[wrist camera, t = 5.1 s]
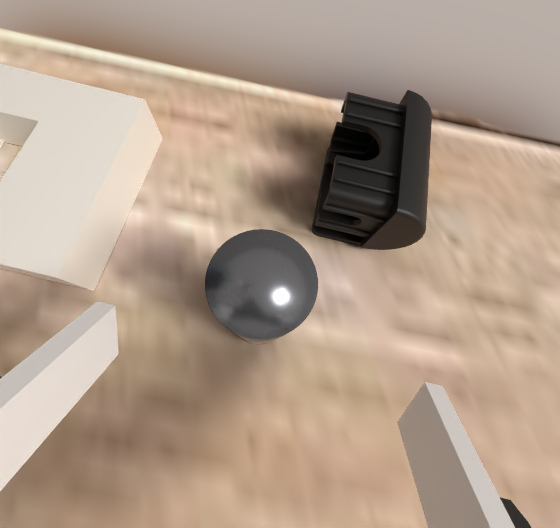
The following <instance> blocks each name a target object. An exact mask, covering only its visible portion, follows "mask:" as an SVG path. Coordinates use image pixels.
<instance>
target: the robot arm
mask: <svg viewBox="0 0 560 528" xmlns="http://www.w3.org/2000/svg"><path fill="white" fill-rule="evenodd" d="M118 354H119V352H118V337H117V322H116V308H115V306H114V305H110V304H106V303H102V302H98V301H97V302H96V303H94V304H93V305H92V306H91V307H89V308H88V309H87V310H86V311H84V312H83V313H82V314H81V315H79V316H78V317H77V318H76V319H74V320H73V321H72V322H71V323H69V324H68V325H67V326H66V327H64V328H63V329H62V330H61V331H59V332H58V333H57V334H56V335H54V336H53V337H52V338H51V339H49V340H48V341H47V342H46V343H44V344H43V345H42V346H41V347H39V348H38V349H37V350H36V351H34V352H33V353H32V354H31V355H29V356H28V357H27V358H26V359H24V360H23V361H22V362H21V363H19V364H18V365H17V366H16V367H14V368H13V369H12V370H11V371H9V372H8V373H7V374H6V375H4V376H3V377H0V491H1V490H2V489H3V488H4V487H5V485H6V484H7V483H8V482H9V481H10V480H11V478H12V477H13V476H14V475H15V474H16V473H17V471H18V470H19V469H20V468H21V467H22V466H23V464H24V463H25V462H26V461H27V460H28V459H29V457H30V456H31V455H32V454H33V453H34V452H35V451H36V449H37V448H38V447H39V446H40V445H41V444H42V442H43V441H44V440H45V439H46V438H47V437H48V435H49V434H50V433H51V432H52V431H53V430H54V428H55V427H56V426H57V425H58V424H59V423H60V421H61V420H62V419H63V418H64V417H65V416H66V415H67V413H68V412H69V411H70V410H71V409H72V408H73V406H74V405H75V404H76V403H77V402H78V401H79V399H80V398H81V397H82V396H83V395H84V394H85V392H86V391H87V390H88V389H89V388H90V387H91V385H92V384H93V383H94V382H95V381H96V380H97V378H98V377H99V376H100V375H101V374H102V373H103V372H104V370H105V369H106V368H107V367H108V366H109V365H110V363H111V362H112V361H113V360H114V359H115V358H116V356H117V355H118ZM397 423H398V426H399V429H400V433H401V436H402V440H403V443H404V446H405V450H406V453H407V457H408V460H409V463H410V467H411V470H412V474H413V477H414V481H415V484H416V487H417V491H418V494H419V498H420V501H421V504H422V508H423V511H424V515H425V518H426V521H427V525H428V528H531V526H530V525H529V523H528V522H527V520H526V519H525V518H524V517H523V515H522V514H521V513H520V511H519V510H518V509H517V508H516V506H515V505H514V504H513V503H512V501H511V500H508V499H504V498H500V497H499V495H498V493H497V491H496V489H495V487H494V485H493V483H492V482H491V480H490V478H489V476H488V474H487V472H486V470H485V468H484V466H483V464H482V462H481V460H480V458H479V456H478V454H477V452H476V450H475V448H474V446H473V444H472V442H471V441H470V439H469V437H468V435H467V433H466V431H465V429H464V427H463V425H462V423H461V421H460V419H459V417H458V415H457V413H456V411H455V409H454V407H453V405H452V403H451V401H450V400H449V398H448V396H447V394H446V392H445V390H444V388H443V386H440V385H436V384H432V383H428V382H424V384H423V385H422V387H421V388H420V390H419V391H418V393H417V394H416V395H415V397H414V398H413V400H412V401H411V403H410V404H409V406H408V407H407V409H406V410H405V412H404V413H403V415H402V416H401V418H400V419H399V420H398V422H397Z"/></svg>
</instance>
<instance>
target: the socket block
mask: <svg viewBox="0 0 560 528" xmlns="http://www.w3.org/2000/svg"><path fill="white" fill-rule="evenodd" d="M161 141H162V136H161V134H160V132H159V130H158V128H157V125H156V123H155V121H154V119H153V116H152V114H151V112H150V110H149V107H148V105H147V103H146V101H145V99H141V98H137V97H133V96H129V95H125V94H121V93H117V92H113V91H109V90H105V89H101V88H97V87H93V86H89V85H85V84H81V83H77V82H73V81H68V80H64V79H60V78H56V77H52V76H48V75H44V74H40V73H36V72H32V71H28V70H24V69H20V68H16V67H12V66H8V65H4V64H0V148H1V146H2V145H3V143H4V142H6V143H10V144H14V145H18V146H22V148H21V150H20V151H19V153H18V154H17V156H16V157H15V159H14V161H13V162H12V164H11V165H10V167H9V168H8V170H7V172H6V173H5V175H4V176H3V178H2V179H1V181H0V269H3V270H8V271H12V272H16V273H20V274H24V275H29V276H33V277H37V278H41V279H45V280H50V281H54V282H58V283H62V284H66V285H71V286H75V287H79V288H83V289H87V290H91V291H95V289H96V286H97V284H98V282H99V280H100V277H101V275H102V273H103V271H104V268H105V266H106V264H107V262H108V260H109V257H110V255H111V253H112V251H113V248H114V246H115V244H116V242H117V239H118V237H119V235H120V233H121V231H122V228H123V226H124V224H125V222H126V219H127V217H128V215H129V213H130V211H131V208H132V206H133V204H134V202H135V199H136V197H137V195H138V193H139V190H140V188H141V186H142V184H143V182H144V179H145V177H146V175H147V173H148V170H149V168H150V166H151V164H152V161H153V159H154V157H155V155H156V153H157V150H158V148H159V146H160V144H161Z"/></svg>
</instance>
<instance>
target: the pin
mask: <svg viewBox="0 0 560 528" xmlns="http://www.w3.org/2000/svg"><path fill="white" fill-rule="evenodd" d="M205 291H206V297H207V300H208V303H209V306H210V308H211V310H212V312H213V313H214V315H215V316H216V318H217V319H218V320H219V321H220V322H221V323H222V324H223V325H224V326H225V327H226V328H228V329H229V330H231V331H232V332H233V333H235V334H236V335H238V336H239V337H240V338H242V339H243V340H245V341H247V342H249V343H252V344H266V343H269V342H271V341H273V340H275V339H277V338H279V337H281V336H283V335H285V334H287V333H289V332H290V331H292V330H294V329H295V328H296V327H298V326H299V325H300V324H301V323H302V322H303V321H304V320H305V319H306V317H307V316H308V315H309V313H310V312H311V310H312V308H313V306H314V303H315V300H316V297H317V291H318V278H317V272H316V269H315V265H314V263H313V261H312V259H311V257H310V256H309V254H308V253H307V251H306V250H305V249H304V248H303V247H302V246H301V245H300V244H299V243H298V242H297V241H295V240H294V239H292V238H291V237H289V236H287V235H285V234H283V233H280V232H277V231H272V230H263V229H260V230H251V231H246V232H243V233H240V234H238V235H236V236H234V237H232V238H231V239H229V240H228V241H226V242H225V243H224V244H223V245H222V246H221V247H220V248H219V249H218V250H217V251H216V253H215V254H214V255H213V257H212V259H211V261H210V263H209V266H208V268H207V272H206V278H205Z"/></svg>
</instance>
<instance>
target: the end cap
mask: <svg viewBox="0 0 560 528" xmlns="http://www.w3.org/2000/svg"><path fill="white" fill-rule="evenodd" d="M341 113H343V118H342V123H340V122H337V123H336V126H335V129H334V132H333V135H332V138H331V142H330V146H329V148H328V151H327V155H326V160H325V165H324V170H323V175H322V180H321V185H320V190H319V195H318V200H317V205H316V210H315V215H314V221H313V226H312V231H313V233H314V234H315V235H317V236H320V237H325V238H329V239H333V240H337V241H342V242H346V243H350V244H354V245H360V247H362V248H367V249H377V250H387V249H397V248H402V247H406V246H409V245H412V244H413V243H415V242H417V241H418V240H420V239H421V238H422V237H423V235H424V233H425V230H426V215H427V196H428V178H429V159H430V140H431V121H432V114H431V109H430V106H429V105H428V103H427V101H426V100H425V99H424V98H423V97H422V96H420V95H419V94H417V93H415V92H412V91H409V90H408V91H407V92H406V94H405V96H404V97H403V99H402V100H401V102H400V104H395V103H391V102H387V101H382V100H379V99H375V98H370V97H366V96H362V95H358V94H354V93H350V92H348V93H347V95H346V98H345V101H344V103H343V106H342V109H341Z"/></svg>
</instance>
